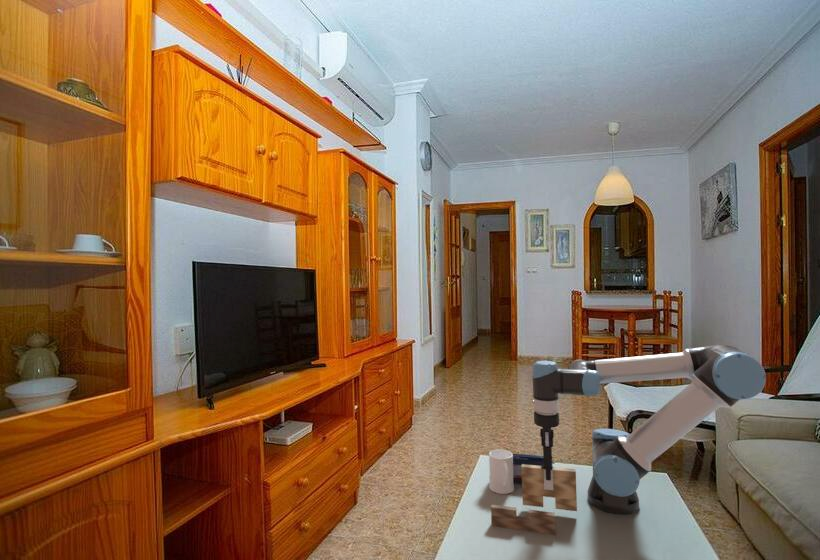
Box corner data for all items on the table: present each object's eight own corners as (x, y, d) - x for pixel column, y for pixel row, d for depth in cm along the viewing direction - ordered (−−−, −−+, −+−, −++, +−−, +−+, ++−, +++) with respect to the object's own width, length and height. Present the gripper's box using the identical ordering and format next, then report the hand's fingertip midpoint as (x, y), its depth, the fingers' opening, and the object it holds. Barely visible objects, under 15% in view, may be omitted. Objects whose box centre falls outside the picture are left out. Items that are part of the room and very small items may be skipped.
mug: (518, 498, 146) (518, 462, 146) (493, 499, 146) (492, 463, 146) (511, 482, 158) (510, 448, 158) (487, 482, 158) (486, 449, 158)
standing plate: (555, 531, 127) (554, 512, 127) (555, 535, 126) (554, 515, 125) (492, 522, 132) (491, 504, 132) (491, 525, 131) (491, 507, 131)
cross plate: (576, 507, 136) (575, 469, 136) (577, 511, 134) (575, 471, 134) (523, 501, 141) (521, 464, 141) (522, 504, 139) (521, 466, 139)
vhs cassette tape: (492, 481, 159) (491, 453, 159) (493, 477, 162) (492, 450, 162) (545, 487, 154) (545, 459, 154) (545, 483, 156) (545, 455, 156)
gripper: (534, 404, 145) (536, 475, 145) (532, 418, 131) (535, 497, 131) (558, 405, 143) (560, 477, 143) (559, 420, 129) (562, 500, 129)
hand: (548, 487), depth 137 cm, fingers closed on cross plate, 2 cm apart
